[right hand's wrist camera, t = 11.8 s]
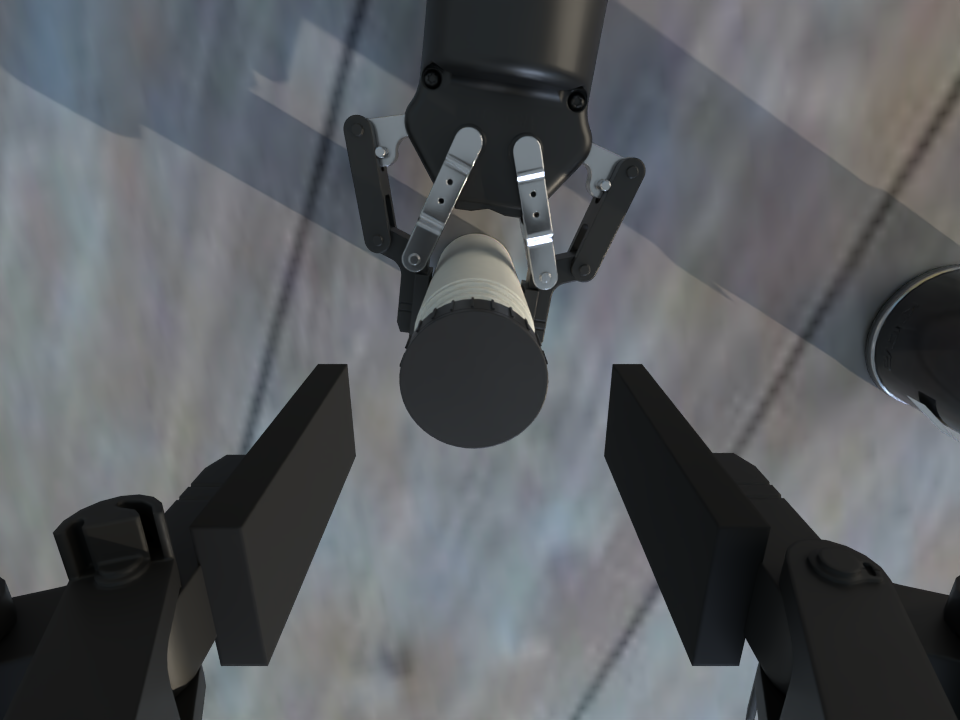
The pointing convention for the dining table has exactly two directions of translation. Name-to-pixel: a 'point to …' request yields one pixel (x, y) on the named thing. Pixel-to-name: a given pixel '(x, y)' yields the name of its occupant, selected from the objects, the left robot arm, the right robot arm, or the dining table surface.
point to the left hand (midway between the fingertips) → (468, 345)
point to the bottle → (475, 276)
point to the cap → (473, 374)
